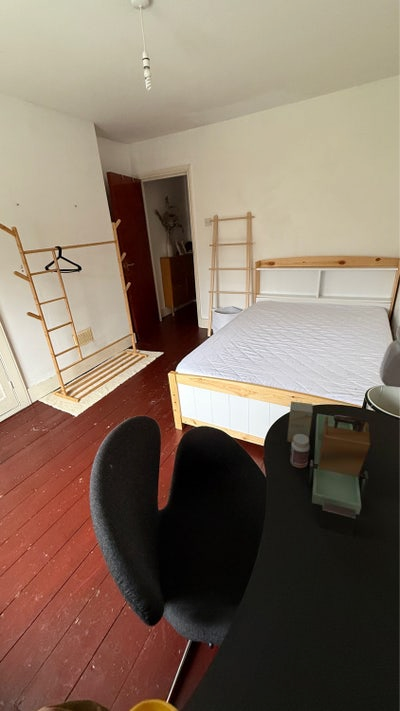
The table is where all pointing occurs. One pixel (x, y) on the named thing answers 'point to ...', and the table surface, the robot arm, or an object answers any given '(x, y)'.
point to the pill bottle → (300, 451)
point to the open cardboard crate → (344, 446)
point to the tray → (333, 476)
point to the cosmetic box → (299, 419)
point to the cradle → (339, 510)
